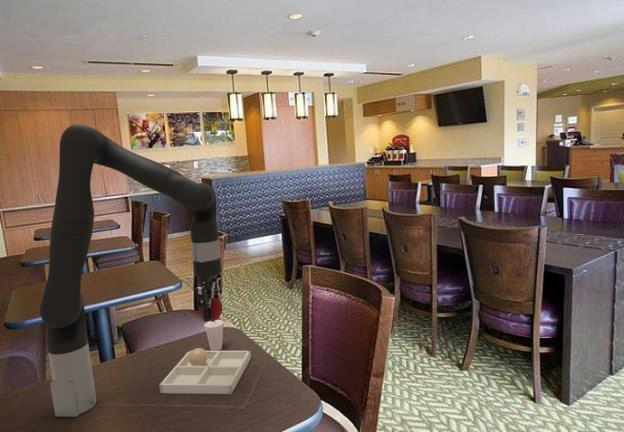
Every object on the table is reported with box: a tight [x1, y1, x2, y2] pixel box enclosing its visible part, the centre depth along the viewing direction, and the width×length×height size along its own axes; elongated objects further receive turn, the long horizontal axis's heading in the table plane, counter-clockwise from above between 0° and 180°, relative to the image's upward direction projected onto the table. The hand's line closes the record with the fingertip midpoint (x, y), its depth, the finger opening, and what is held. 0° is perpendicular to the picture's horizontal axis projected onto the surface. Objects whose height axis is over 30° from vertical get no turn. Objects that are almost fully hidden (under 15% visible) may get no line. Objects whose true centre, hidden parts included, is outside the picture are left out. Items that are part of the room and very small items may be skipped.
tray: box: [158, 350, 252, 395], centre depth 127 cm, size 20×20×3 cm
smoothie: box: [203, 319, 224, 351], centre depth 143 cm, size 6×6×14 cm
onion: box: [200, 294, 223, 322], centre depth 118 cm, size 6×6×8 cm
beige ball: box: [189, 347, 208, 366], centre depth 132 cm, size 6×6×6 cm
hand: (212, 315), depth 118 cm, fingers closed on onion, 6 cm apart
